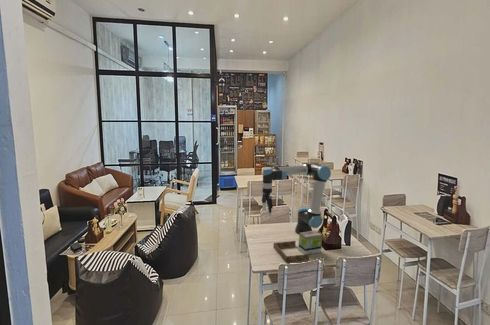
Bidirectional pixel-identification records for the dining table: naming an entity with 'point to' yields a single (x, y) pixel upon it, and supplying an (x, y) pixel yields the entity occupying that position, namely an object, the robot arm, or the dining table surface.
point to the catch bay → (289, 258)
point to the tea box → (310, 242)
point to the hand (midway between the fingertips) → (266, 213)
